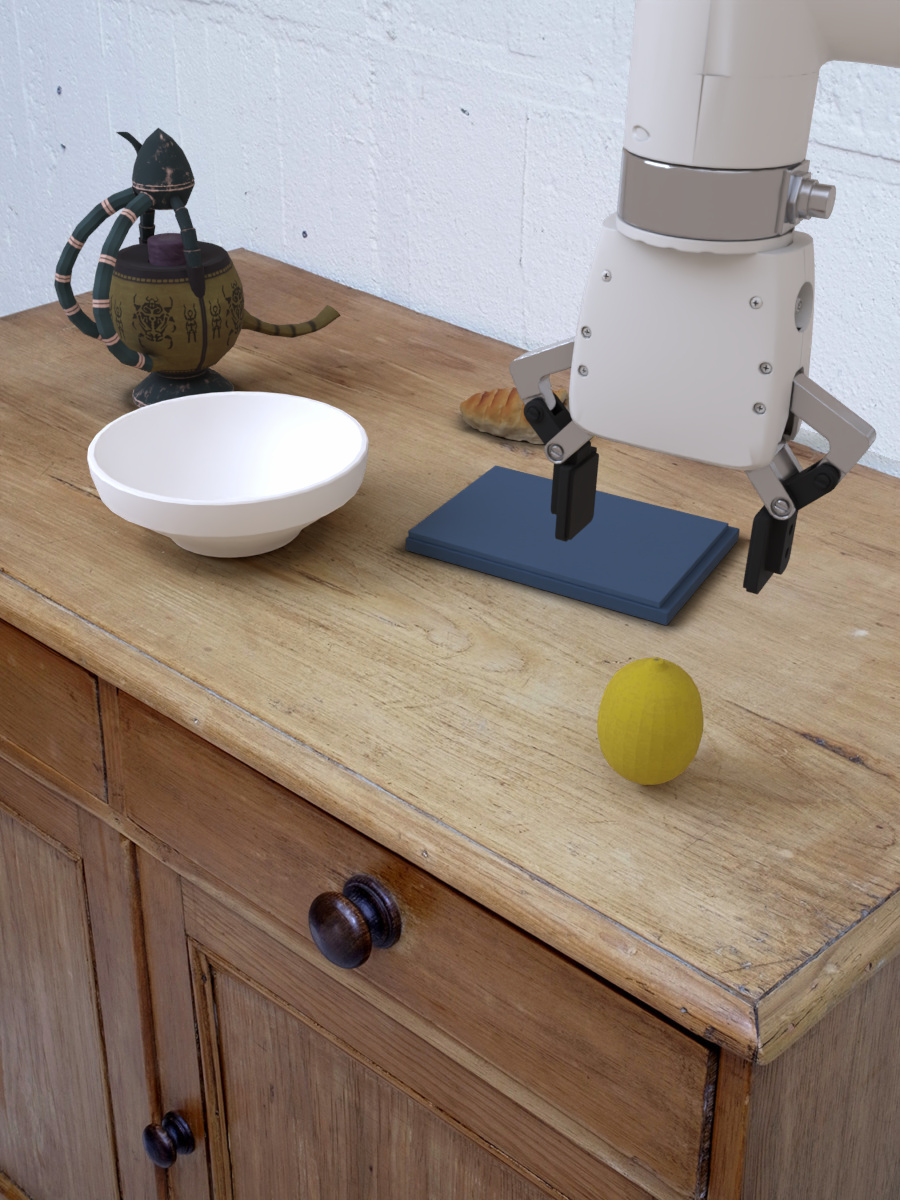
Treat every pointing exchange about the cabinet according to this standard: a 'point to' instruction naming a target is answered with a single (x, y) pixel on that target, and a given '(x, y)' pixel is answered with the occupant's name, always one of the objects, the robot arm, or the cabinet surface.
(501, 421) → the pastry
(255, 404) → the bowl
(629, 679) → the lemon
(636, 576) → the blue flat block
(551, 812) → the cabinet surface
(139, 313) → the teapot
